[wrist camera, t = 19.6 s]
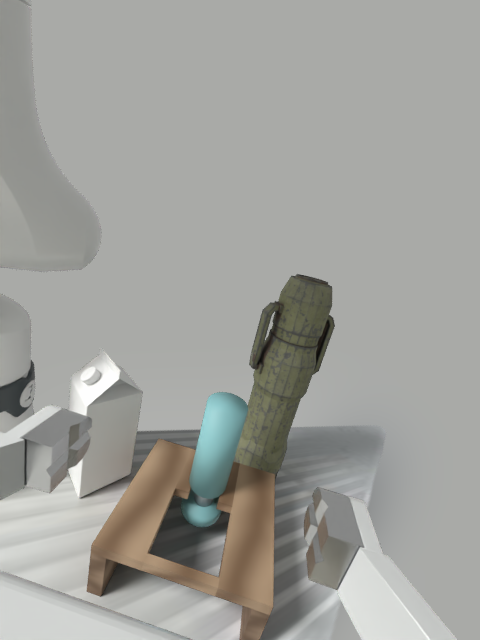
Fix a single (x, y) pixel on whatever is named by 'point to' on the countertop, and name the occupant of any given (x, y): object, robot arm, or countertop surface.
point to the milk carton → (105, 422)
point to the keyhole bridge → (240, 544)
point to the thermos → (284, 368)
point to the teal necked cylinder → (214, 457)
